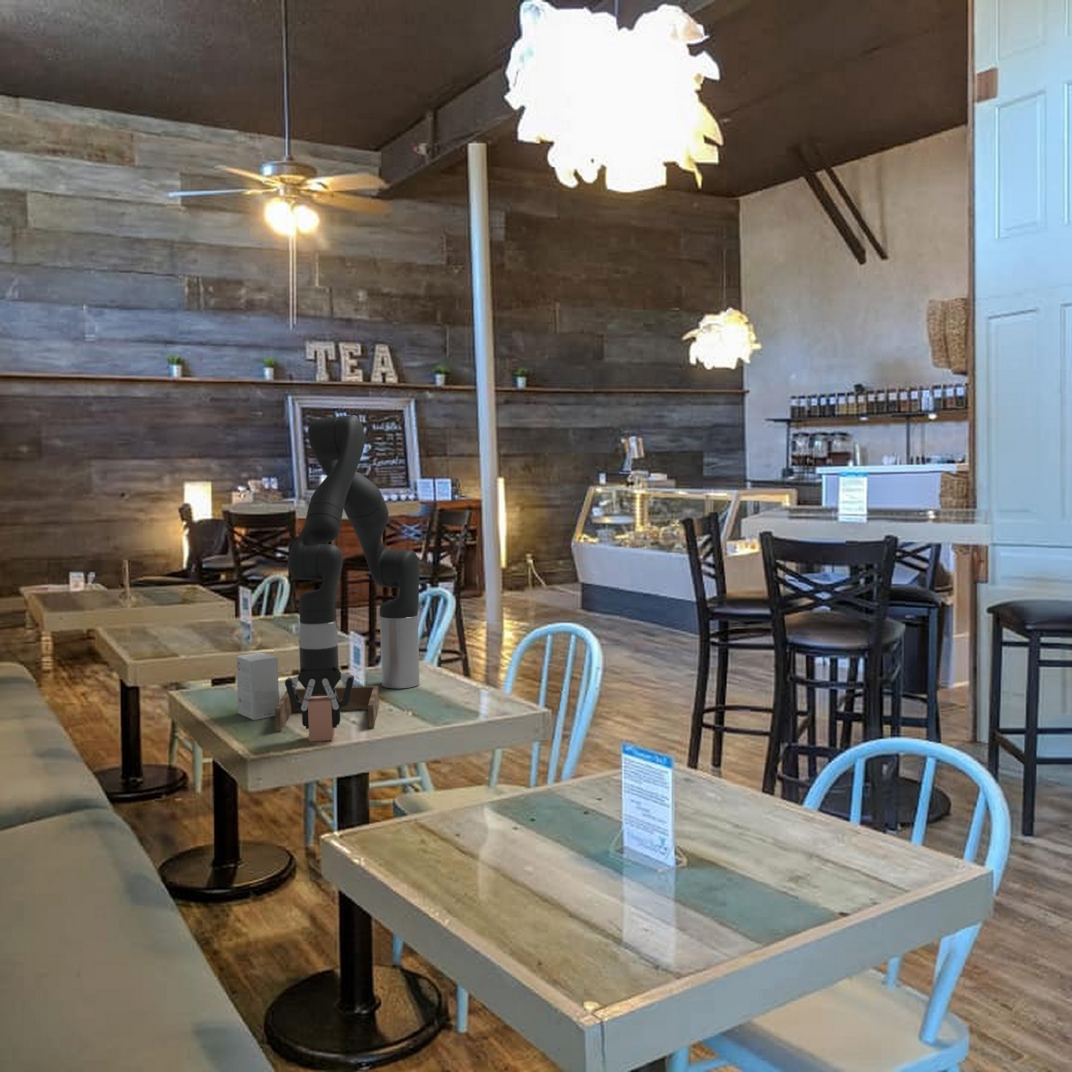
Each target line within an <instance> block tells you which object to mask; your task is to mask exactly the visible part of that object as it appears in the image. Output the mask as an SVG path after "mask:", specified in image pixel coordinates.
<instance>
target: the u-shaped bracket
mask: <svg viewBox="0 0 1072 1072" xmlns="http://www.w3.org/2000/svg"><path fill="white" fill-rule="evenodd" d="M334 688H335V690H336V693H337V697H338V699H339V700H342V699H343V696H344V692H345V686H339V687H338V686H335V687H334ZM295 689H296V692H297V695H298V698H299V701H302V702H303V700H304V696H305V693H306V689H305V688H295ZM312 696H328V695H327V694H325V695H324V694H317V695H312ZM352 709H364V710H368V729H374V728H375V725H376V722H375V721H377V716H378V712H379V709H380V700H379V685H369V686H368V685H363V686H352V690H351V694H350V698H349V702H348V705H347V706H343V707H341V708H340V711H353V710H352ZM292 713H302V711H301V710H300V709H298V708H293V707H292V705H291V701H290V698H289V695H288V692H287V689H286V691H285V692H284V694H283V695H282V696H281V698H280V699H279V703H278V704H277V706H276V708H275V716H274V717H275V718H274V719H275V732H276V733H281V732H282V731H283V729H284V727H285V725H286V724H287V722H288V720H289V718H290V716H291V715H292ZM290 714H291V715H290ZM286 721H287V722H286ZM282 728H283V729H282Z"/></svg>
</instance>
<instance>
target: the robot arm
mask: <svg viewBox="0 0 1072 1072" xmlns="http://www.w3.org/2000/svg"><path fill="white" fill-rule="evenodd" d="M307 436H308V437H307V438H308V442H309V446H310V449H311V450H312V451H311V452H312V453H313V455H314V458H315V459H316V461H317V462H318V464H319V466H320V467H321V469H322V470H323V472H324V474H325V475H326V477H325V478H324V479H323V480H322V482H321V483H320V484H319V485H318V486H317V487H316V489H315V490H314V492H313V493H312V495H311V497H310V500H309V503H308V507H307V512H306V517H305V522H304V525H303V527H302V529H301V531H300V533H299V535H298V537H297V538H296V540H295V541H294V543H293V545H292V547H291V549H290V552H289V554H288V559H287V568H288V571H289V573H290V574H291V576H292V577H293V578H294V579H296V580H300V581H301V580H304V581H306V580H307V581H308V580H309V581H310V580H314V581H315V580H317V581H321V580H322V584H321V586H320V588H319V589H315V590H310V591H306V592H303V593H301V595H300V596H299V598H298V599H299V600H298V609H299V628H298V629H299V631H298V645H299V649H298V651H299V672H298V674H297V676H294V677H293V676H292V677H291V676H289V677H287V678H286V679H285V681H284V684H285V689H286V690H287V692H288V695H289V698H290V701H291V705H292V707H293V708H298V709H300V710H301V711H302V712H301V723H302V726H303V727H305V729H306V730H309V721H308V701H310V699H311V697H312V695H317V694H324V695H325V694H327V695H328V698H329V700H331V704H332V707H333V709H332V723H333V728H334V729H337V727H338V726H339V725H340V723H341V710H340V708H341V707H343V706H347V705H348V702H349V698H350V694H351V690H352V687H354V686H353V685H354V681H355V676H354V675H353V674H349V675H346V674H342V672H341V671H340V668H339V644H338V641H339V640H338V639H339V638H338V628H337V623H336V622H337V621H336V597H337V596H336V595H337V590H338V585H339V580H340V576H341V574H342V568H343V565H344V564H343V563H344V557H343V554H342V551H341V549H340V548H339V547H338V546H337V545H335V544H331V542H333V541H335V540H336V539H337V538H338V537H339V534H340V529H341V524H342V518H343V515H344V514H343V513H345V515H346V517H347V519H348V521H349V523H350V525H351V527H352V529H353V531H354V533H355V535H356V537H357V539H358V542H359V544H360V546H361V549H362V551H363V554H364V557H365V560H366V563H367V567H368V569H369V572H370V575H371V577H372V579H373V581H374V583H375V584H376V585H377V586H378V587H382V588H394V589H395V588H396V589H399V591H398V592H399V593H398V595H397V597H395V598H394V599H391V600H388V601H385V602H383V603H382V604H380V606H379V630H380V632H379V633H380V634H379V635H380V666H381V668H380V669H381V670H380V671H381V673H380V674H381V686H382V687H384V688H387V689H408V688H413V687H416V686H419V685H420V647H419V646H420V644H419V642H420V641H419V639H420V638H419V612H418V611H419V610H418V609H419V602H420V560H419V557H418V554H417V553H416V552H415V551H413V550H410V549H408V550H407V549H387V548H386V547H385V546H384V544H383V541H382V536H383V535H384V532H385V530H386V527H387V525H388V521H389V509H388V505H387V503H386V502H385V500H384V497H383V494H382V492H381V490H380V489H379V487H377V485H376V484H375V483H373V482H372V481H371V480H370V479H369V478H367V477H366V476H364V475H363V474H362V473H359V472H358V471H357V469H358V466H359V464H360V461H361V459H362V456H363V453H364V448H365V441H366V439H365V438H366V434H365V429H364V426H363V424H362V422H361V420H360V419H359V417H357V416H355V415H340V416H338V415H337V416H330V417H323V418H322V417H321V418H318V419H315V420H313V421H311V422H310V423H309V426H308V429H307ZM340 680H341V683H342V687H345V692H344V696H343V699H342V700H339V699H338V697H337V693H336V690H335V688H334V687H337V684H338V683H339V682H340ZM298 683H300V684H301V685H302V687H303V689H306V693H305V696H304V700H303V702H302V701H299V698H298V695H297V692H296V689H297V687H298Z"/></svg>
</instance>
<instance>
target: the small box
mask: <svg viewBox="0 0 1072 1072" xmlns="http://www.w3.org/2000/svg"><path fill="white" fill-rule="evenodd" d="M235 659H236V660H235V661H236V685H237V689H236V690H237V709H238V710H237V712H238V713H237V714H239V715H241V716H243V717H246V718H248V719H251V720H252V721H257V720H261V719H266V718H272V717H275V708H276V706H277V704H278V703H279V701H280V695H279V694H280V691H279V690H280V689H279V665H278V664H279V663H278V661H279V660H278V657H277V656H274V655H271V654H267V653H264V652H257V653H255V652H254V653H248V654H247V653H246V654H241V655H236V657H235Z"/></svg>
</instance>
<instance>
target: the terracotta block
mask: <svg viewBox="0 0 1072 1072" xmlns="http://www.w3.org/2000/svg"><path fill="white" fill-rule="evenodd" d="M332 709H333V707H332V704H331V700H329V698H328V696H312V697H311V699H310V701H308V721H309V729H308V739H309V740H308V742H327V741H328V742H329V740H331V741H333V739H334V738H335V737H334V736H335V733H336V732H335V728H333V723H332ZM326 740H327V741H326Z"/></svg>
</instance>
